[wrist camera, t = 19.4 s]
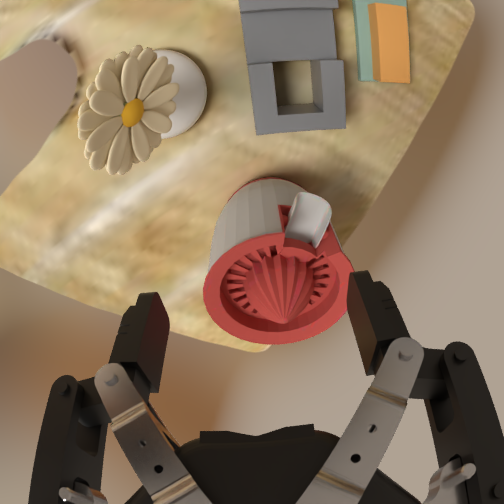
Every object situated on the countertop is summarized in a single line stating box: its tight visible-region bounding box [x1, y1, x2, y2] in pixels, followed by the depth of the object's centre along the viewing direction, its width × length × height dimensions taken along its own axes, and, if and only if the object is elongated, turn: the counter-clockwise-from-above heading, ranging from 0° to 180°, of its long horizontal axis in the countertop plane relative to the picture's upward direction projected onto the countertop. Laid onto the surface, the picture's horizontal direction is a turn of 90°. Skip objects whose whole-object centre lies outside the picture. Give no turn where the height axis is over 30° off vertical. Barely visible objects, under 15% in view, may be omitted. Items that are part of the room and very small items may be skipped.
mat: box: [352, 0, 410, 81], centre depth 29 cm, size 13×7×1 cm, turn 7°
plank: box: [367, 3, 410, 83], centre depth 29 cm, size 10×4×2 cm, turn 7°
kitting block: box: [239, 0, 346, 135], centre depth 30 cm, size 16×10×6 cm, turn 7°
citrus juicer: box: [203, 177, 355, 344], centre depth 37 cm, size 16×17×20 cm
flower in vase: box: [77, 45, 207, 175], centre depth 24 cm, size 13×11×25 cm
